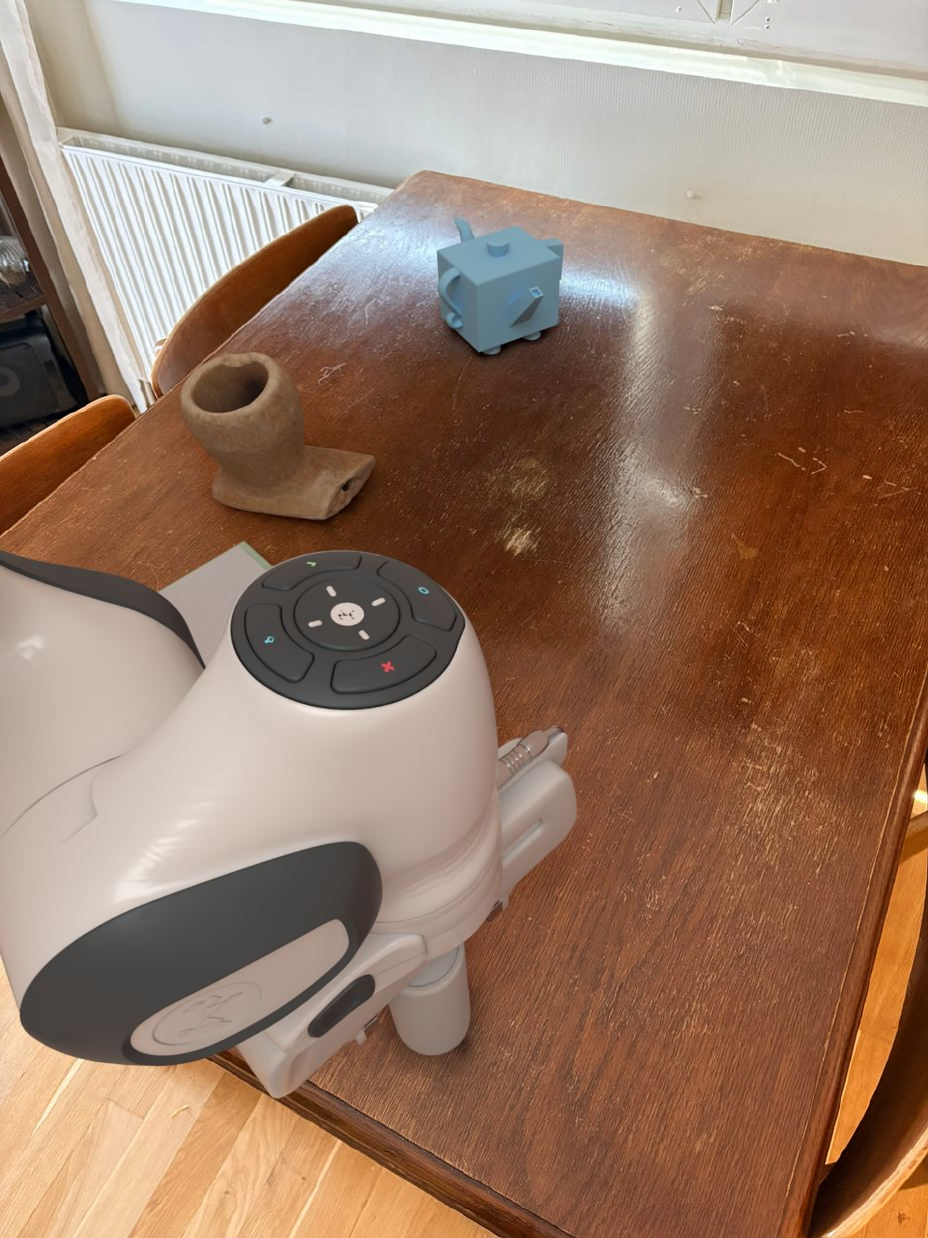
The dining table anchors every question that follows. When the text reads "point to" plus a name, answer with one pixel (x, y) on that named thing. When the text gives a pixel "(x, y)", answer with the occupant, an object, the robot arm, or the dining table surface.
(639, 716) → the dining table surface
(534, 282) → the teapot
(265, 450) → the tan stone pipe
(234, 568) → the scale
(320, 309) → the dining table surface
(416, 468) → the dining table surface
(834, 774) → the dining table surface
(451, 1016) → the beverage can
